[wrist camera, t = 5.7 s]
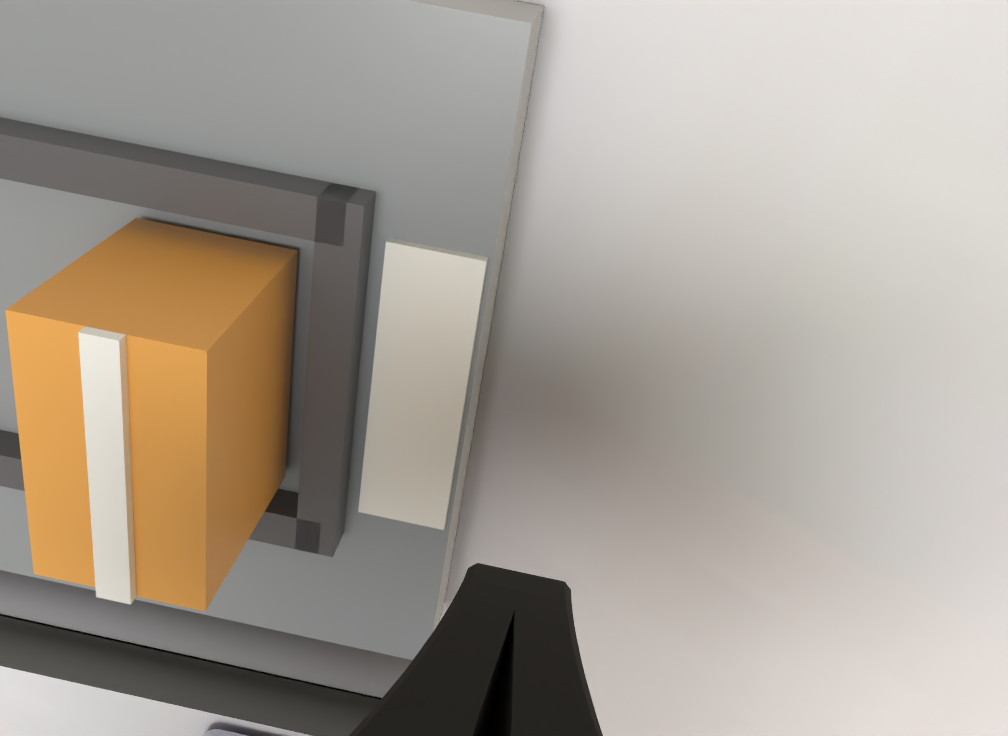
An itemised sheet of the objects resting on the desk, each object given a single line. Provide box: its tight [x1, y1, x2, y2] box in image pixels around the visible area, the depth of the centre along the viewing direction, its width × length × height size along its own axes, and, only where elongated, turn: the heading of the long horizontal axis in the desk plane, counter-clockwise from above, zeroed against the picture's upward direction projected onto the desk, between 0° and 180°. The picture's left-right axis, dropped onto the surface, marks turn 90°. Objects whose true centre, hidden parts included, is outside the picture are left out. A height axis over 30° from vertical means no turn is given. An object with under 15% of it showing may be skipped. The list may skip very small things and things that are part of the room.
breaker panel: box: [0, 0, 544, 660], centre depth 19 cm, size 18×14×3 cm
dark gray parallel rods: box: [0, 570, 413, 736], centre depth 25 cm, size 3×20×1 cm, turn 81°
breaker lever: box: [5, 218, 298, 612], centre depth 17 cm, size 3×5×4 cm, turn 171°
